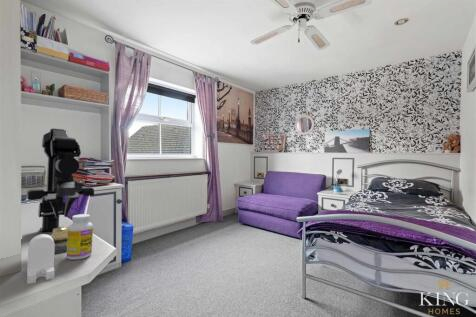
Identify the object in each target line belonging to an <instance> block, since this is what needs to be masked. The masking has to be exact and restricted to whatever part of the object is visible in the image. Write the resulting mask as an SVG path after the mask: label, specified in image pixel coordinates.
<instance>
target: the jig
mask: <svg viewBox="0 0 476 317" xmlns="http://www.w3.org/2000/svg"><path fill="white" fill-rule="evenodd" d="M50 236H51V235H50ZM51 237H52V238H53V235H52V236H51ZM62 252H67V242H61V243H55V250H54V254H58V253H62Z"/></svg>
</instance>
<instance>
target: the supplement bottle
mask: <svg viewBox="0 0 476 317" xmlns="http://www.w3.org/2000/svg"><path fill="white" fill-rule="evenodd" d="M71 218H72V220H71V221H72V223H70V224H69V225H68V238H67V251H66V259H67V260H72V261H78V260H83V259H86V258H89V257H90V256H91V255H92V252H93V251H92V250H93V234H94V233H93V232H94V231H93V230H94V225H93V223H92V222H90V218H91V215H90V214H88V213H80V214H74V215H72V217H71Z"/></svg>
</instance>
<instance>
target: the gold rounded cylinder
mask: <svg viewBox="0 0 476 317" xmlns="http://www.w3.org/2000/svg"><path fill="white" fill-rule="evenodd" d="M59 227H60V228H55V229H53V231H52V236H53V240H54V244H55V243H61V242H67V238H68V227H69V226H68V227H67V226H63V227H61V226H59Z"/></svg>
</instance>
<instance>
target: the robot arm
mask: <svg viewBox="0 0 476 317" xmlns="http://www.w3.org/2000/svg"><path fill="white" fill-rule="evenodd" d="M41 148H43V152H44V154H45V156H46V157H47V176H46V190H44V189H42V188H36V189H28V190H27V191H26V197H25V198H26V199H27V200H30V201H32V200H33V201H34V200H41V202H39V205H38V210H37V212H38V215H37V216H38V217H39V218H42V221H41V227H39V230H40V232H41V233H47V232H53V229H55V228H60V227H61V226H60V216H63V217H65V218H67V216H68V214H69V212H70V209H71V207H72V205H74V204H73V203H75V201H76V200H78V199H80V197H79V196H80V195H83V196H84V197H92V196H93V197H94V196H95V189H94V188H93V187H90V186H83V181H82V180H75V181H74V174H75V173H77V171H78V170H79V169H80V163H79V161H78V159H76V158H79V157H80V156H81V154H82V152H81V145H80V144H79V142H78V141H77V140H76V138H74V137H69V136H68V134H67V130H66V129H63V128H54V127H53V128H50V130H49V132H46V133H44V134H43V136H42V141H41ZM64 197H65V200H64Z"/></svg>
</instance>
